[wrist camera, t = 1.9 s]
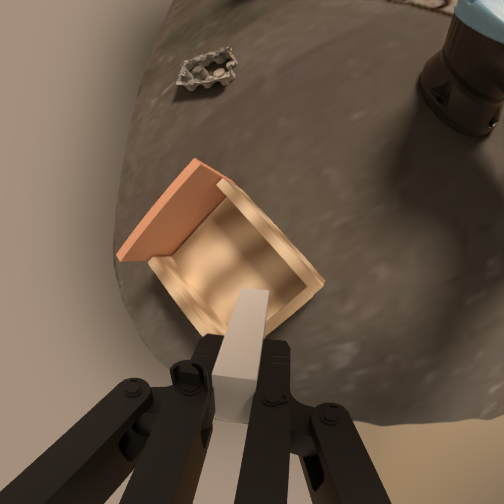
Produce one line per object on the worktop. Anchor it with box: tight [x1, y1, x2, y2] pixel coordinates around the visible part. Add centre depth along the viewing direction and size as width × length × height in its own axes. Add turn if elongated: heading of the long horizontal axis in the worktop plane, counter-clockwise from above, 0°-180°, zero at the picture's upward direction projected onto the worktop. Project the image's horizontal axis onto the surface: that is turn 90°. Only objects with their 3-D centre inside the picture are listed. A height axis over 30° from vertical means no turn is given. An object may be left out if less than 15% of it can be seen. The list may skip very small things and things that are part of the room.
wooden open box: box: [148, 178, 325, 337], centre depth 36 cm, size 18×16×9 cm
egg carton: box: [176, 47, 238, 91], centre depth 41 cm, size 11×8×4 cm
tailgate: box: [116, 158, 238, 262], centre depth 36 cm, size 1×16×12 cm, turn 133°
